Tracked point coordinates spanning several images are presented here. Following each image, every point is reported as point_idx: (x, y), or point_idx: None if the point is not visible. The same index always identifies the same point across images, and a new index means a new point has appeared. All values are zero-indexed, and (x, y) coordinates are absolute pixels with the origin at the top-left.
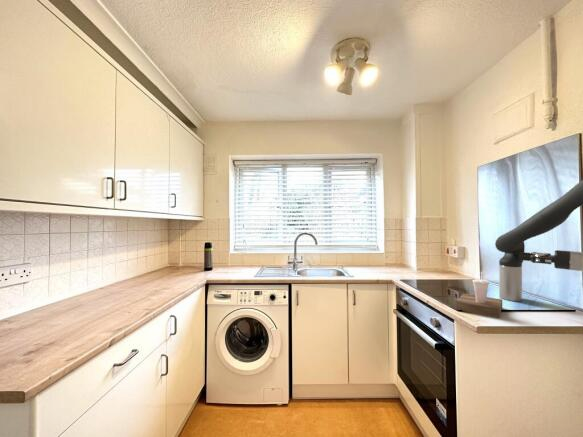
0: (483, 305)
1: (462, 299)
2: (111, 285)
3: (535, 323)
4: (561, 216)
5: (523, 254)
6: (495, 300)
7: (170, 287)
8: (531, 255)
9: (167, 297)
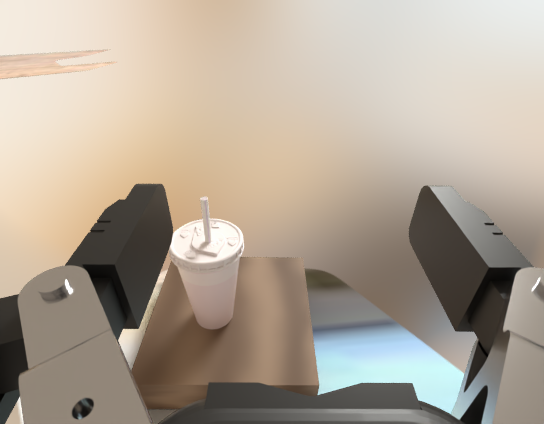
0: (155, 327)
1: None
2: (101, 50)
3: None
4: None
5: (432, 230)
6: (275, 359)
7: (115, 62)
8: (51, 273)
9: (73, 70)
